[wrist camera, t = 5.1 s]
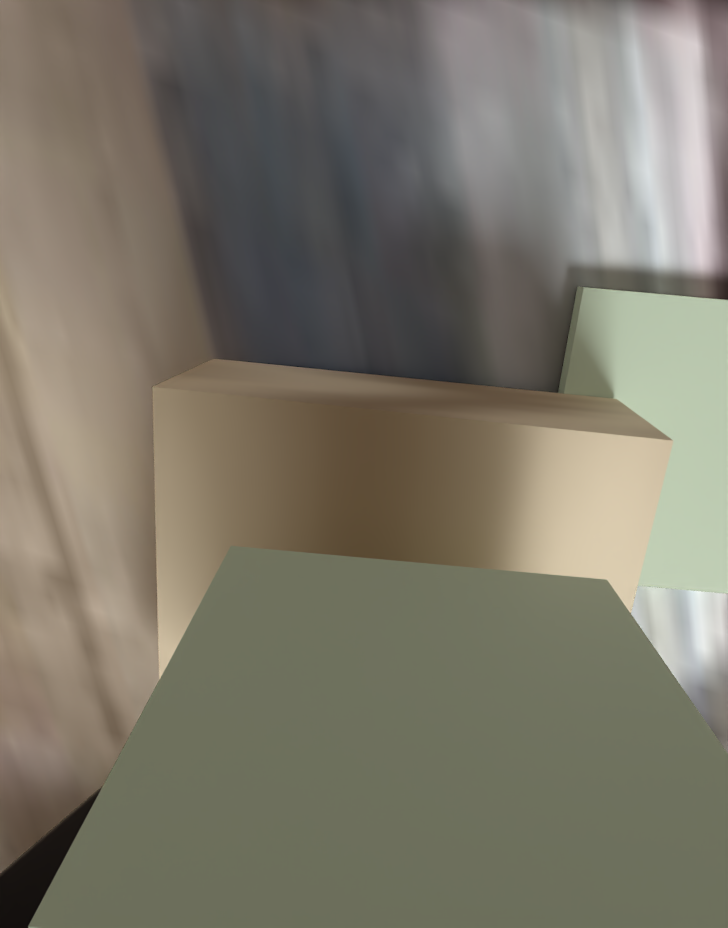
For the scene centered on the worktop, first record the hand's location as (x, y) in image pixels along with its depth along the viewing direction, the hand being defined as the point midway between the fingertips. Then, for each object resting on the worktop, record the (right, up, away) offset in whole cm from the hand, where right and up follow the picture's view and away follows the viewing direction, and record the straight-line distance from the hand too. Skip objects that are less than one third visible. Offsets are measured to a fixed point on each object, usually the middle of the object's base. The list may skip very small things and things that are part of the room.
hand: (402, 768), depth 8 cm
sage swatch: (+6, +4, +5) cm, 9 cm away
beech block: (0, +2, +6) cm, 6 cm away
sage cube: (0, 0, +1) cm, 1 cm away
